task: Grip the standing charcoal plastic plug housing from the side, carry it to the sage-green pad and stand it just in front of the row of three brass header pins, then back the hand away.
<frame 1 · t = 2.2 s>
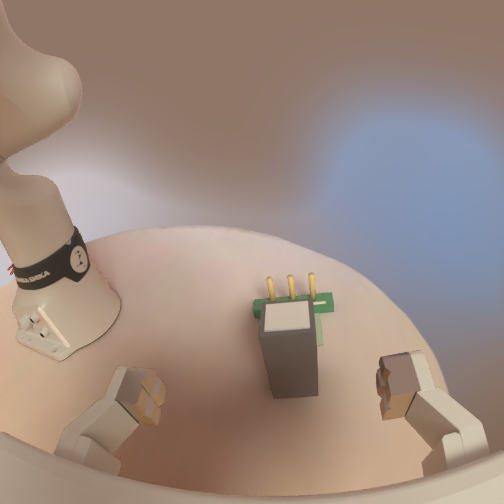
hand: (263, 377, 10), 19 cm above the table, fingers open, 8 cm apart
plug housing: (295, 381, 31), on the table
header strip: (294, 309, 40), on the table
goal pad: (294, 331, 37), on the table
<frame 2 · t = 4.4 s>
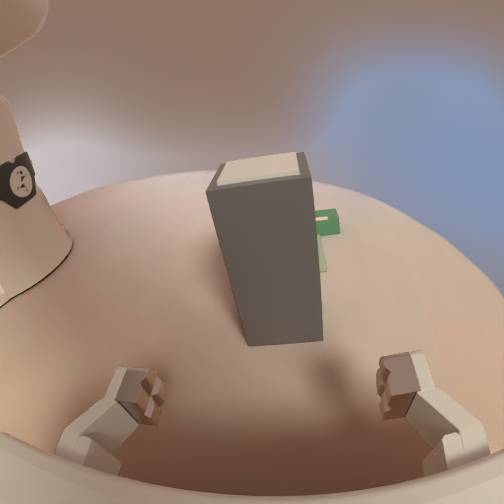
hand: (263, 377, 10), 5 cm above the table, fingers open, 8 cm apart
plug housing: (285, 320, 20), on the table
header strip: (284, 233, 29), on the table
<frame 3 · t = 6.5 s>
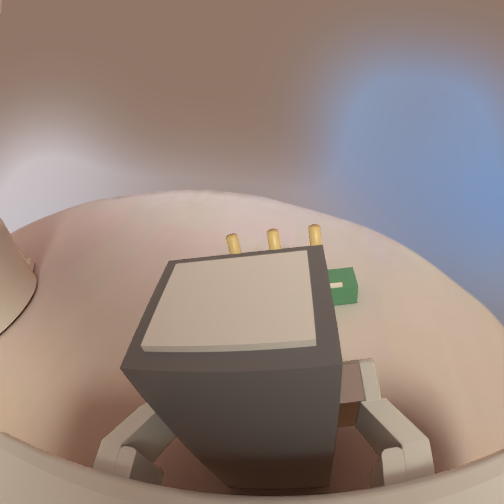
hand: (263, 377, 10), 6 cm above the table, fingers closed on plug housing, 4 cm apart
plug housing: (280, 451, 13), on the table, touching gripper
header strip: (283, 300, 22), on the table
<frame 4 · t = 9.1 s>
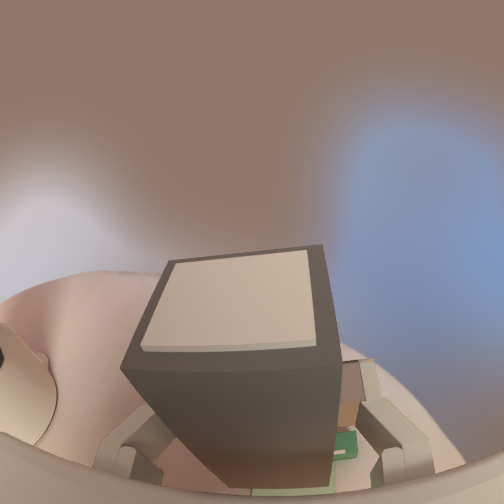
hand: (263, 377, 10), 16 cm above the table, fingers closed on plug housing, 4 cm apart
plug housing: (280, 451, 13), point 11 cm above the table, touching gripper
header strip: (294, 452, 21), on the table
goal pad: (293, 492, 18), on the table
when the fingers open (7 cm above the table, at t = 11.5 s): plug housing stays where it is, resting on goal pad.
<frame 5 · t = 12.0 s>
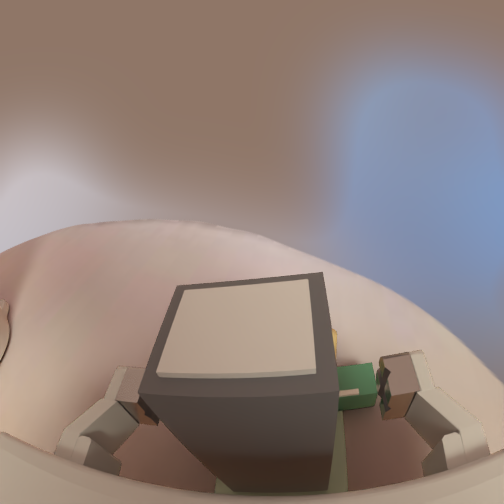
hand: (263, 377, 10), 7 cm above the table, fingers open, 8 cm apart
plug housing: (281, 457, 13), resting on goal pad
header strip: (283, 400, 16), on the table
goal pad: (282, 458, 13), on the table
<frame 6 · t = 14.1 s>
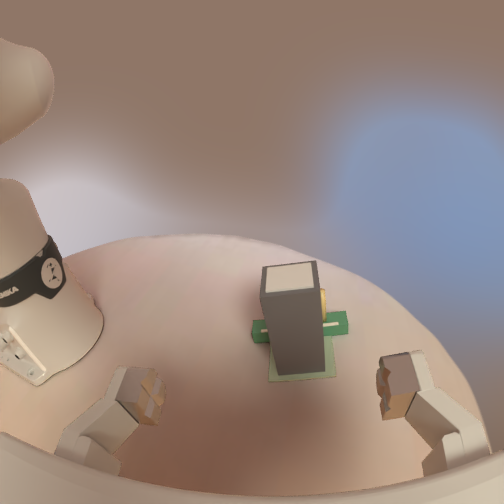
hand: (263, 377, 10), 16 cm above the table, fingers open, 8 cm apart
plug housing: (301, 357, 30), resting on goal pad
header strip: (300, 332, 33), on the table
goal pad: (301, 359, 30), on the table
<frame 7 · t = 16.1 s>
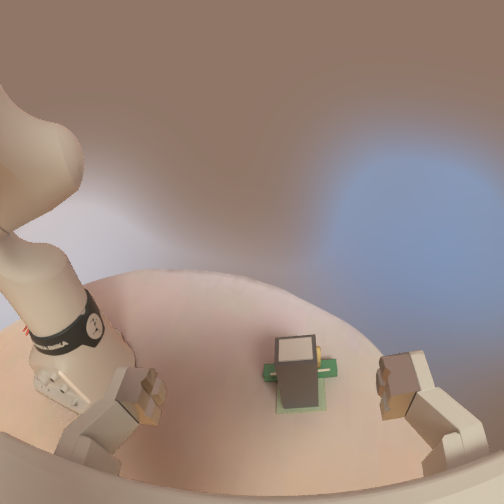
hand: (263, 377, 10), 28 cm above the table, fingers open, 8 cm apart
plug housing: (300, 395, 38), resting on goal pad
header strip: (300, 373, 41), on the table
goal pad: (301, 395, 38), on the table
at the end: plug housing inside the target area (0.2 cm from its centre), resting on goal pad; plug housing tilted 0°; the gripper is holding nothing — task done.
